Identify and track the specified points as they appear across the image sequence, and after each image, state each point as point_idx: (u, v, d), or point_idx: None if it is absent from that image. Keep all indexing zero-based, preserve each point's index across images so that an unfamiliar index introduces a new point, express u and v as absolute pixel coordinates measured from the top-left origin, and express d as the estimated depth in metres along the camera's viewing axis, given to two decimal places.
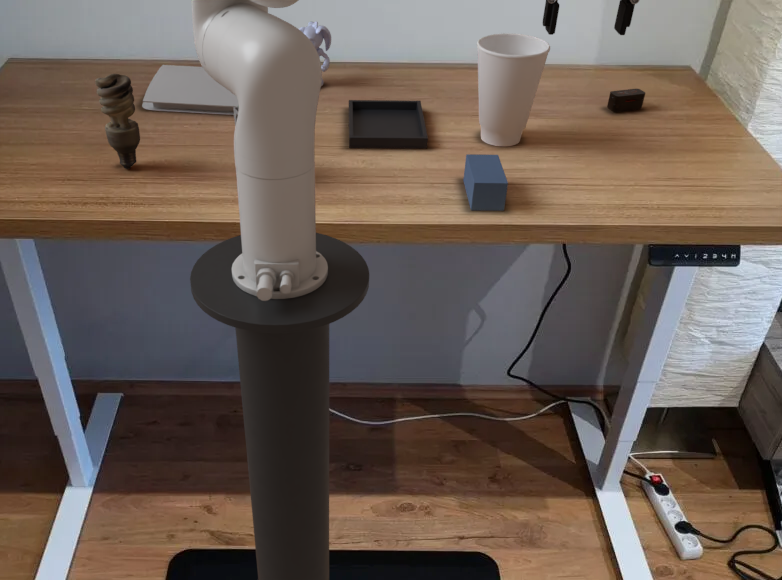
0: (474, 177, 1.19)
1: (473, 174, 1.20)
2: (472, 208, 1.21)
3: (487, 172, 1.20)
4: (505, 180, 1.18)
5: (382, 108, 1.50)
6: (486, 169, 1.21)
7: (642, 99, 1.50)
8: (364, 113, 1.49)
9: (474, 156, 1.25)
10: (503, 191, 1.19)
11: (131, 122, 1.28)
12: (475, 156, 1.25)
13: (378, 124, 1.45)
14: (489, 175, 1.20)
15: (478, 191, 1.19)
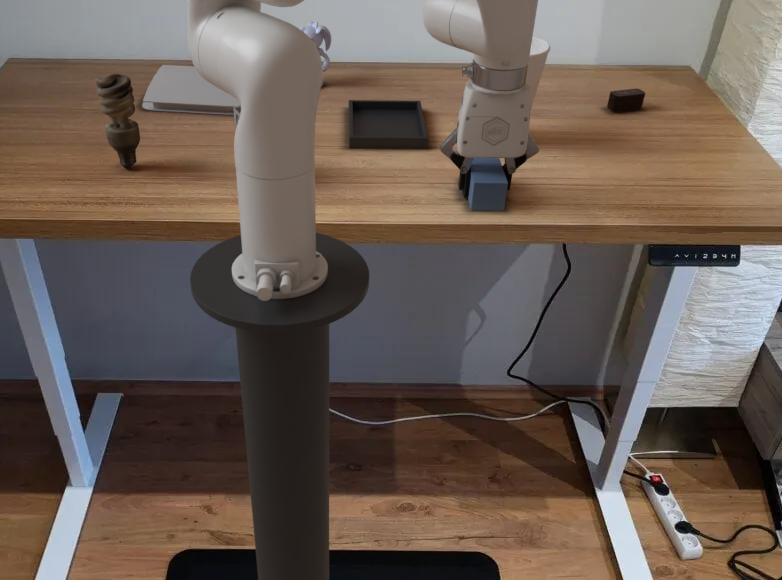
0: (474, 177, 1.19)
1: (473, 174, 1.20)
2: (472, 208, 1.21)
3: (487, 172, 1.20)
4: (505, 180, 1.18)
5: (382, 108, 1.50)
6: (486, 169, 1.21)
7: (642, 99, 1.50)
8: (364, 113, 1.49)
9: None
10: (503, 191, 1.19)
11: (131, 122, 1.28)
12: None
13: (378, 124, 1.45)
14: (489, 175, 1.20)
15: (478, 191, 1.19)
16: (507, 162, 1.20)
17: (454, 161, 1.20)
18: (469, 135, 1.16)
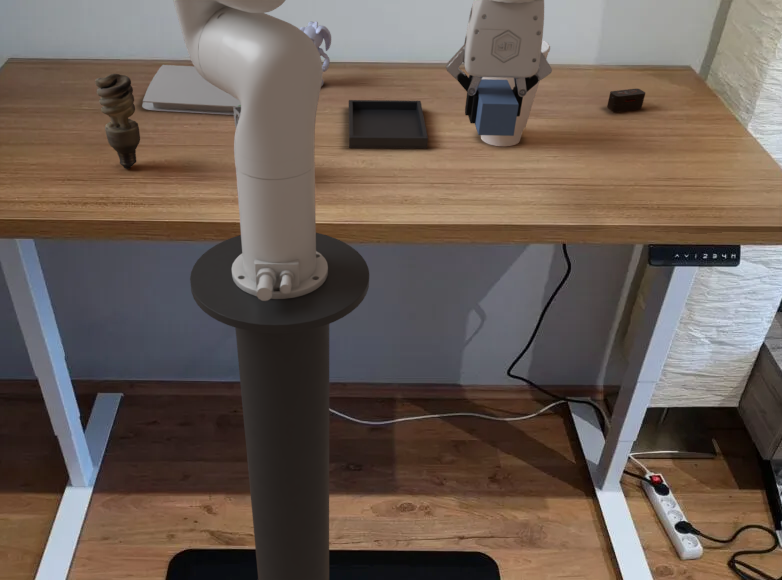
0: (482, 98, 1.11)
1: (481, 96, 1.12)
2: (480, 132, 1.13)
3: (495, 95, 1.13)
4: (515, 101, 1.11)
5: (382, 108, 1.50)
6: (495, 92, 1.14)
7: (642, 99, 1.50)
8: (364, 113, 1.49)
9: (482, 80, 1.17)
10: (513, 113, 1.11)
11: (131, 122, 1.28)
12: (483, 80, 1.17)
13: (378, 124, 1.45)
14: (498, 97, 1.12)
15: (486, 113, 1.11)
16: (517, 83, 1.12)
17: (461, 82, 1.12)
18: (477, 50, 1.08)
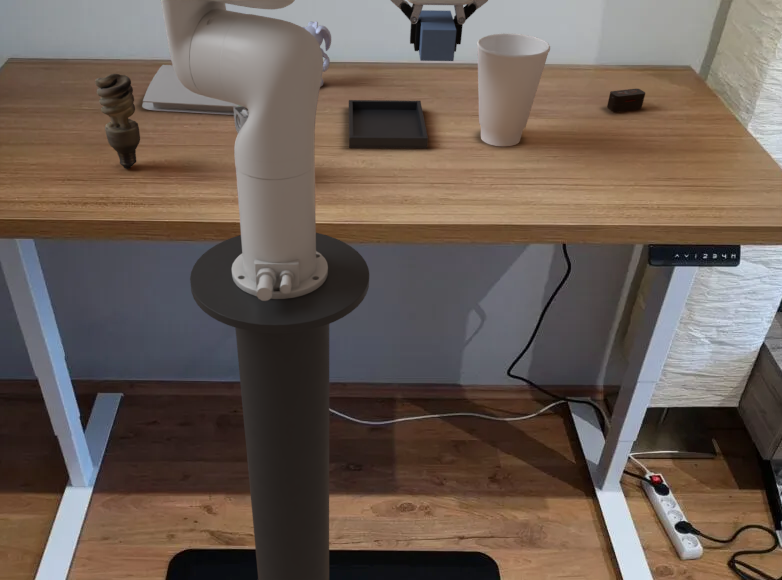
0: (423, 25, 1.19)
1: (423, 23, 1.20)
2: (421, 58, 1.21)
3: (436, 22, 1.21)
4: (454, 28, 1.19)
5: (382, 108, 1.50)
6: (436, 20, 1.21)
7: (642, 99, 1.50)
8: (364, 113, 1.49)
9: (426, 11, 1.25)
10: (451, 39, 1.19)
11: (131, 122, 1.28)
12: (427, 11, 1.25)
13: (378, 124, 1.45)
14: (438, 24, 1.20)
15: (427, 39, 1.19)
16: (456, 11, 1.20)
17: (404, 11, 1.20)
18: None
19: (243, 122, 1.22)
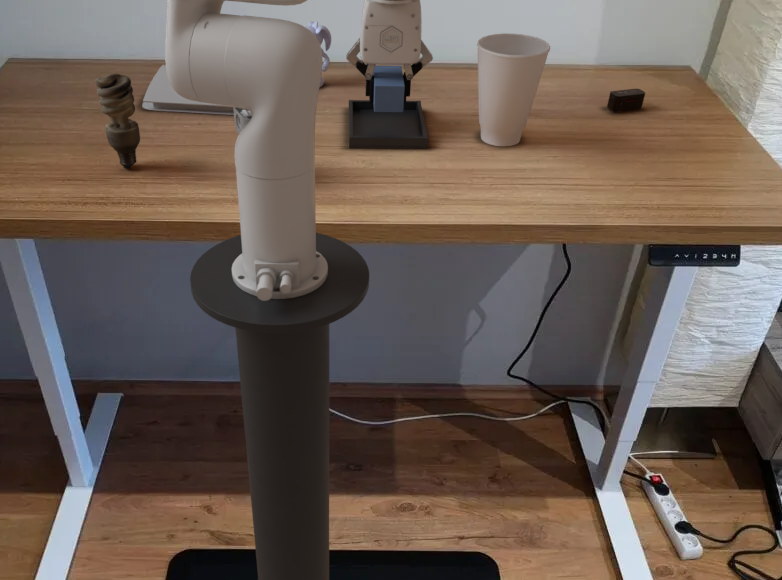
0: (376, 82, 1.36)
1: (375, 80, 1.37)
2: (375, 110, 1.37)
3: (388, 78, 1.37)
4: (402, 84, 1.35)
5: None
6: (388, 76, 1.38)
7: (642, 99, 1.50)
8: (364, 113, 1.49)
9: (380, 67, 1.42)
10: (401, 93, 1.36)
11: (131, 122, 1.28)
12: (381, 67, 1.42)
13: (378, 124, 1.45)
14: (389, 80, 1.37)
15: (379, 94, 1.36)
16: (405, 69, 1.37)
17: (359, 68, 1.37)
18: (368, 43, 1.33)
19: (243, 122, 1.22)
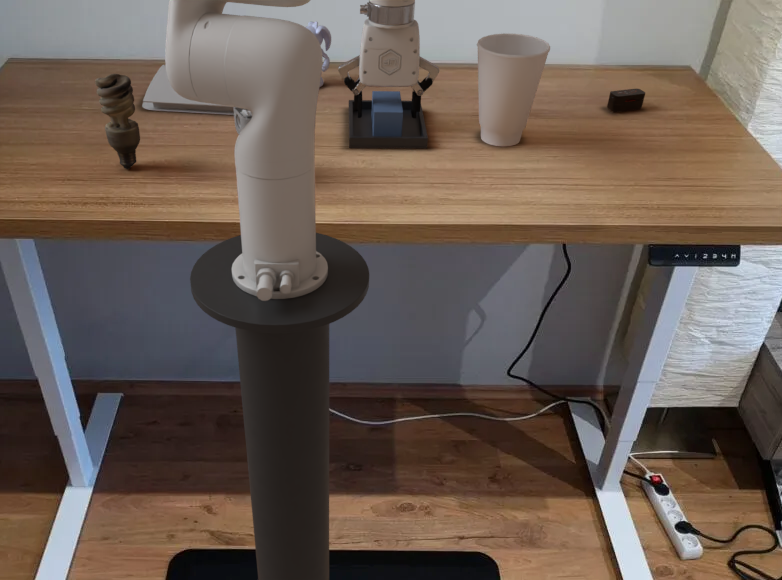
0: (375, 108, 1.39)
1: (374, 105, 1.40)
2: (374, 135, 1.40)
3: (386, 104, 1.40)
4: (401, 110, 1.38)
5: None
6: (387, 102, 1.41)
7: (642, 99, 1.50)
8: (364, 113, 1.49)
9: (379, 92, 1.45)
10: (399, 119, 1.38)
11: (131, 122, 1.28)
12: (379, 92, 1.45)
13: None
14: (388, 106, 1.40)
15: (378, 119, 1.39)
16: (413, 87, 1.38)
17: (347, 84, 1.39)
18: (368, 66, 1.35)
19: (243, 122, 1.22)
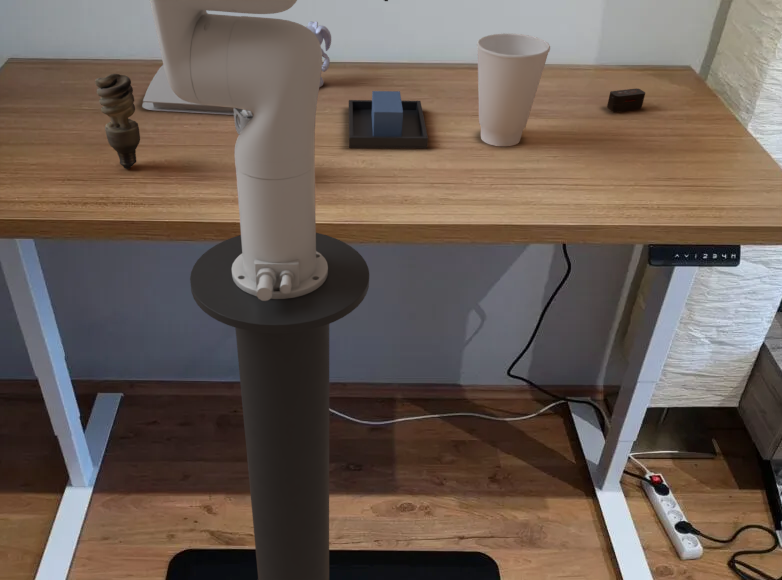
0: (375, 108, 1.39)
1: (374, 105, 1.40)
2: (374, 135, 1.40)
3: (386, 104, 1.40)
4: (401, 110, 1.38)
5: None
6: (387, 102, 1.41)
7: (642, 99, 1.50)
8: (364, 113, 1.49)
9: (379, 92, 1.45)
10: (399, 119, 1.38)
11: (131, 122, 1.28)
12: (379, 92, 1.45)
13: None
14: (388, 106, 1.40)
15: (378, 119, 1.39)
16: None
17: None
18: None
19: (243, 122, 1.22)
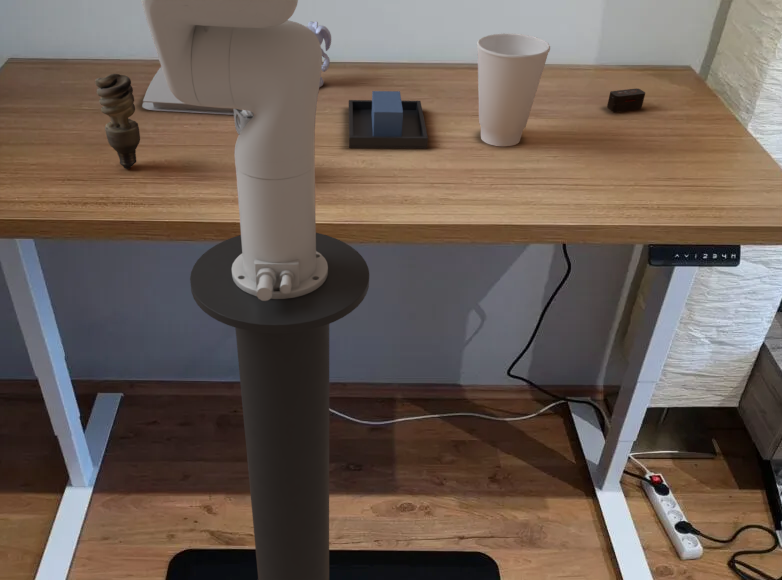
0: (375, 108, 1.39)
1: (374, 105, 1.40)
2: (374, 135, 1.40)
3: (386, 104, 1.40)
4: (401, 110, 1.38)
5: None
6: (387, 102, 1.41)
7: (642, 99, 1.50)
8: (364, 113, 1.49)
9: (379, 92, 1.45)
10: (399, 119, 1.38)
11: (131, 122, 1.28)
12: (379, 92, 1.45)
13: None
14: (388, 106, 1.40)
15: (378, 119, 1.39)
16: None
17: None
18: None
19: (243, 122, 1.22)
